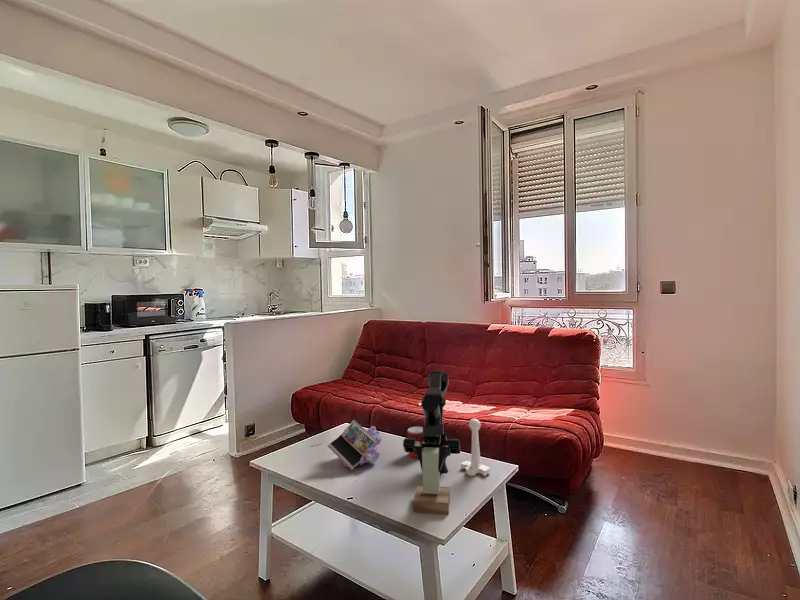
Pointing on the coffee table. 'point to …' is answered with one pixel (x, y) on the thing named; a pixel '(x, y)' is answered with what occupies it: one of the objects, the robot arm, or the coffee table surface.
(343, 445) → the colorful box
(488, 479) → the coffee table surface
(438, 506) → the base block
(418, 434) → the canned food
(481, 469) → the joystick
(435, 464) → the post
